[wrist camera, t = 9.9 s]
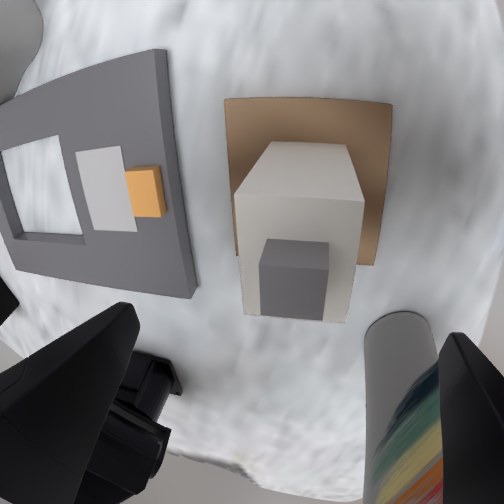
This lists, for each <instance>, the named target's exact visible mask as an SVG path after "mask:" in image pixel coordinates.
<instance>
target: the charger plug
mask: <svg viewBox="0 0 504 504" xmlns="http://www.w3.org/2000/svg"><path fill="white" fill-rule="evenodd" d="M234 202H235V215H236V227H237V240H238V252H239V265H240V277H241V288H242V300H243V312H244V314H245V315H254V316H264V317H274V318H285V319H296V320H308V321H321V322H335V323H345V322H346V318H347V313H348V308H349V303H350V297H351V292H352V286H353V281H354V275H355V269H356V263H357V257H358V250H359V243H360V236H361V229H362V221H363V213H364V205H365V200H364V197H363V194H362V191H361V188H360V185H359V182H358V179H357V176H356V173H355V170H354V167H353V164H352V161H351V158H350V155H349V153H348V150H347V147H346V145H344V144H329V143H310V142H279V141H272V142H271V143H270V144H269V146H268V147H267V148H266V150H265V151H264V153H263V154H262V155H261V157H260V158H259V160H258V161H257V162H256V164H255V165H254V167H253V168H252V169H251V171H250V172H249V174H248V175H247V177H246V178H245V179H244V181H243V182H242V184H241V185H240V186H239V188H238V189H237V191H236V192H235V194H234Z"/></svg>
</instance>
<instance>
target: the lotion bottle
mask: <svg viewBox="0 0 504 504" xmlns="http://www.w3.org/2000/svg"><path fill="white" fill-rule="evenodd" d="M364 358H365V383H366V453H365V475H364V491H363V504H442V502H443V451H442V433H441V419H440V405H439V363H438V354H437V350H436V347H435V343H434V339H433V336H432V332H431V329H430V327H429V325H428V323H427V321H426V320H425V319H424V318H423V317H421V316H420V315H417V314H415V313H410V312H398V313H393V314H390V315H387V316H385V317H383V318H381V319H379V320H378V321H376V322H375V323H374V324H373V325H372V326H371V327H370V328H369V330H368V331H367V333H366V336H365V340H364Z"/></svg>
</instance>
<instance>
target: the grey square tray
mask: <svg viewBox="0 0 504 504" xmlns="http://www.w3.org/2000/svg"><path fill="white" fill-rule="evenodd" d="M54 135H59V141H60V146H61V151H62V156H63V161H64V165H65V170H66V174H67V178H68V182H69V186H70V190H71V194H72V198H73V202H74V205H75V209H76V213H77V216H78V219H79V223H80V226H81V229H82V233H83V235H69V234H50V233H32V232H23V229H22V226H21V223H20V220H19V217H18V214H17V211H16V208H15V205H14V202H13V198H12V195H11V191H10V188H9V184H8V181H7V177H6V173H5V169H4V165H3V161H2V156H1V152H0V232H1V234H2V237H3V240H4V242H5V245H6V247H7V250H8V252H9V255H10V257H11V259H12V262H13V264H14V266H15V268H16V270H19V271H24V272H29V273H34V274H39V275H44V276H49V277H54V278H59V279H64V280H70V281H75V282H81V283H86V284H92V285H98V286H104V287H110V288H116V289H122V290H129V291H135V292H142V293H149V294H156V295H163V296H170V297H177V298H185V299H191V298H192V296H193V294H194V292H195V290H196V289H197V281H196V276H195V271H194V265H193V260H192V254H191V248H190V242H189V236H188V230H187V224H186V218H185V211H184V205H183V198H182V191H181V184H180V177H179V169H178V162H177V154H176V146H175V138H174V129H173V120H172V111H171V101H170V90H169V79H168V67H167V54H166V50H162V49H152V50H147V51H143V52H139V53H135V54H131V55H127V56H124V57H120V58H116V59H113V60H110V61H106V62H103V63H100V64H97V65H94V66H91V67H88V68H85V69H82V70H79V71H76V72H74V73H71V74H68V75H66V76H63V77H60V78H58V79H55V80H53V81H51V82H48V83H46V84H43V85H41V86H39V87H37V88H34V89H32V90H30V91H28V92H26V93H24V94H22V95H19V96H17V97H15V98H13V99H11V100H9V101H7V102H6V103H4V104H2V105H0V151H3V150H6V149H9V148H12V147H15V146H19V145H22V144H25V143H29V142H32V141H36V140H39V139H43V138H47V137H50V136H54Z"/></svg>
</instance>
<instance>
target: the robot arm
mask: <svg viewBox="0 0 504 504" xmlns="http://www.w3.org/2000/svg"><path fill="white" fill-rule="evenodd" d="M139 331H140V322H139V319H138V317H137V314H136V311H135V309H134V306H133V305H132V304H131V303H126V302H118V303H116V304H115V305H113V306H111V307H109V308H108V309H106V310H104V311H103V312H101V313H99V314H98V315H96V316H94V317H93V318H91V319H89V320H88V321H86V322H84V323H83V324H81V325H79V326H78V327H76V328H74V329H73V330H71V331H69V332H68V333H66V334H64V335H63V336H61V337H59V338H58V339H56V340H55V341H53V342H51V343H50V344H48V345H46V346H45V347H43V348H41V349H40V350H38V351H37V352H35V353H33V354H32V355H30V356H29V358H28V357H27V358H25V359H24V360H22V361H21V362H19V363H17V364H16V365H14V366H12V367H11V368H9V369H7V370H5V371H4V372H2V373H0V504H119V503H121V502H123V501H125V500H126V499H128V498H130V497H131V496H133V495H137V494H139V493H140V492H141V491H143V490H144V489H145V487H146V484H147V482H148V479H151V478H153V477H154V476H155V475H156V473H157V472H158V470H159V468H160V466H161V464H162V461H163V458H164V455H165V451H166V448H167V444H168V440H169V437H170V433H171V429H170V428H168V427H164V426H162V425H160V424H158V423H157V420H158V418H159V416H160V414H161V411H162V409H163V407H164V405H165V402H166V400H167V398H168V396H169V393H170V394H174V395H178V396H181V395H182V389H181V387H180V385H179V382H178V380H177V377H176V374H175V372H174V369H173V367H172V364H171V362H170V361H168V360H165V359H160V358H156V357H151V356H147V355H143V354H139V353H135V352H133V349H134V346H135V343H136V340H137V337H138V334H139ZM438 363H439V405H440V419H441V433H442V451H443V502H442V504H504V377H503V375H502V374H501V373H500V372H499V371H498V370H497V369H496V367H495V366H494V365H493V364H492V363H491V362H490V361H489V360H488V358H487V357H486V356H485V355H484V354H483V353H482V352H481V351H480V350H479V348H478V347H477V346H476V345H475V344H474V343H473V342H472V341H471V340H470V339H469V338H468V337H467V336H466V335H465V334H464V333H462V332H452V333H450V334H449V335H448V337H447V339H446V341H445V343H444V345H443V347H442V349H441V351H440V353H439V358H438Z"/></svg>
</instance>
